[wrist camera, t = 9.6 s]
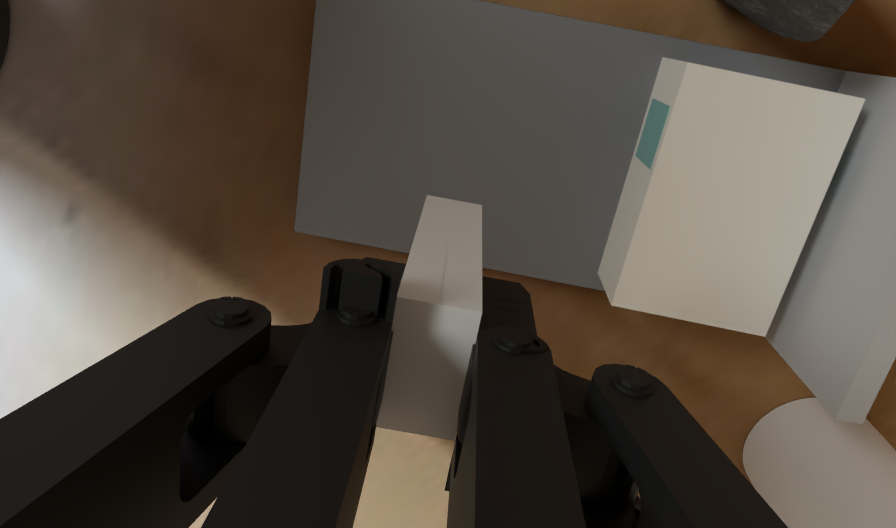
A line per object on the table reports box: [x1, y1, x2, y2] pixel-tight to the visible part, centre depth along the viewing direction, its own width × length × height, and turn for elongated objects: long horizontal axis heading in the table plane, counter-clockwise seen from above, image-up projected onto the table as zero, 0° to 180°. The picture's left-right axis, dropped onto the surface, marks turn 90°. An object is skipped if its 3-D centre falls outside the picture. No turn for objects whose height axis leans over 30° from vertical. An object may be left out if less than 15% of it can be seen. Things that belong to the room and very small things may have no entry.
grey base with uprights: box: [294, 0, 896, 424], centre depth 31 cm, size 30×14×12 cm, turn 80°
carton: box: [598, 57, 865, 337], centre depth 32 cm, size 8×12×4 cm
